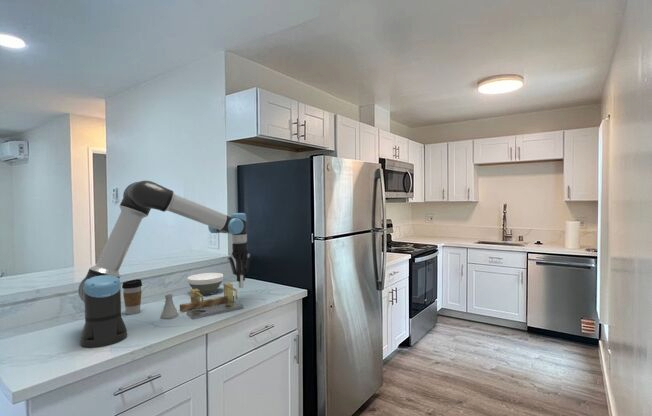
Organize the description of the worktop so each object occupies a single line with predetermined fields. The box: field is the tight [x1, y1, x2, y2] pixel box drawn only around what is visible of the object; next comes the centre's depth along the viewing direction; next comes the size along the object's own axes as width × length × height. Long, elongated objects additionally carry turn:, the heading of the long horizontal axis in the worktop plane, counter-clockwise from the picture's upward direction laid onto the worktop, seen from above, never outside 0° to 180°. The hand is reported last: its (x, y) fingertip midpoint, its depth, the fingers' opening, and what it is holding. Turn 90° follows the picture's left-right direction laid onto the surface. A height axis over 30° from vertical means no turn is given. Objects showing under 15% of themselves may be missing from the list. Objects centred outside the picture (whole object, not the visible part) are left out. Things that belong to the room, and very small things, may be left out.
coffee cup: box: [121, 278, 143, 315], centre depth 168 cm, size 8×8×15 cm
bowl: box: [187, 272, 224, 296], centre depth 203 cm, size 20×20×10 cm
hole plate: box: [186, 301, 245, 320], centre depth 167 cm, size 24×9×1 cm, turn 126°
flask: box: [160, 293, 179, 320], centre depth 160 cm, size 7×7×10 cm
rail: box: [179, 288, 235, 313], centre depth 172 cm, size 26×14×9 cm, turn 126°
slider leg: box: [223, 282, 239, 304], centre depth 178 cm, size 3×14×9 cm, turn 36°
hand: (241, 287), depth 186 cm, fingers closed
